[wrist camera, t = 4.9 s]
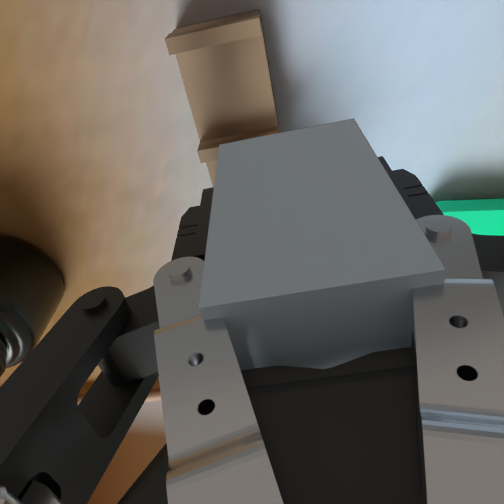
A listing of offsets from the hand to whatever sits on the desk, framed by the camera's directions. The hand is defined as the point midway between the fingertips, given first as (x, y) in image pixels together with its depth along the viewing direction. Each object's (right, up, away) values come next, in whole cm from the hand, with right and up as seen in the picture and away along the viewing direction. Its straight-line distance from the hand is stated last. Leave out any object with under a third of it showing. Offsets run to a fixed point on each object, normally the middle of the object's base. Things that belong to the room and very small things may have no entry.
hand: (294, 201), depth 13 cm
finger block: (0, 0, 0) cm, 1 cm away
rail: (-2, +6, +16) cm, 17 cm away
